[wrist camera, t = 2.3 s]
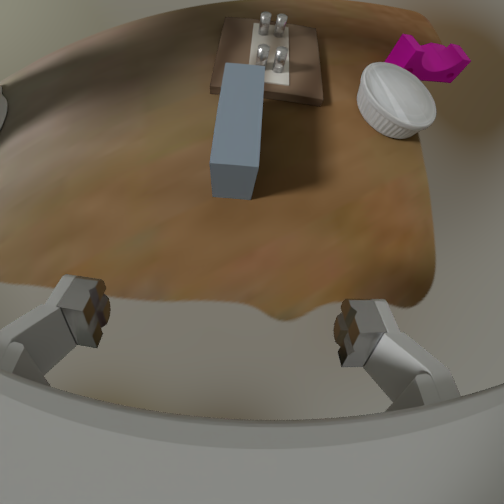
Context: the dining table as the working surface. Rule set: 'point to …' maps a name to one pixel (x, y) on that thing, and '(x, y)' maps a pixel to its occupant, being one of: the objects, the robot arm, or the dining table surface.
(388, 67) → the ramekin
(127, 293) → the dining table surface
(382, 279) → the dining table surface
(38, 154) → the dining table surface
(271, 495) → the robot arm
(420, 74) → the toy block
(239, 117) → the slate block
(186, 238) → the dining table surface
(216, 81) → the peg stand
